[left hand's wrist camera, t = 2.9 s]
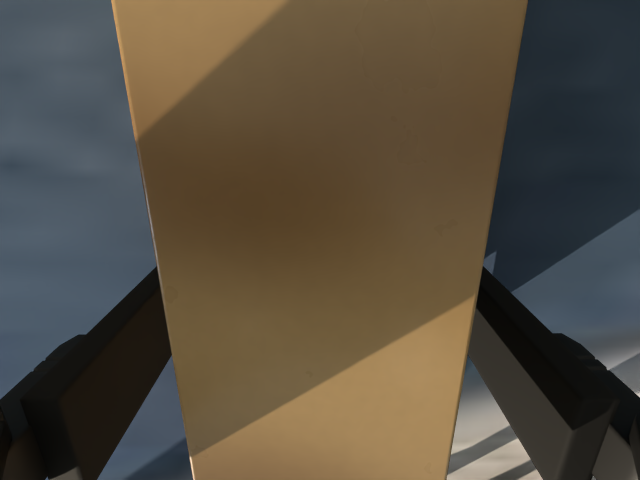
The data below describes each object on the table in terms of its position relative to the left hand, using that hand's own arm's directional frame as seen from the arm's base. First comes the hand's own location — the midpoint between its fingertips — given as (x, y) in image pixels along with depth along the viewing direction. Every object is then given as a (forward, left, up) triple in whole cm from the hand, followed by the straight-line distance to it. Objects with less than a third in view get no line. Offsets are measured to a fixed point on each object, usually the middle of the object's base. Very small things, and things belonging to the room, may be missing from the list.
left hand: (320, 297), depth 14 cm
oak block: (0, +11, 0) cm, 11 cm away
